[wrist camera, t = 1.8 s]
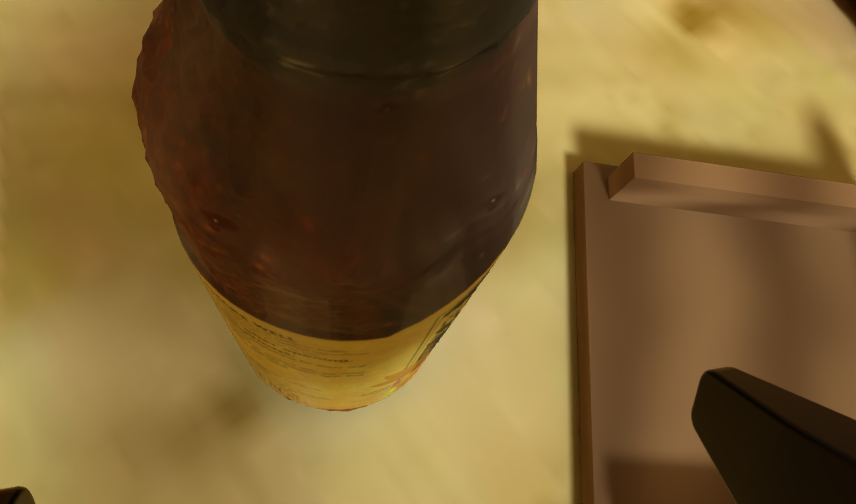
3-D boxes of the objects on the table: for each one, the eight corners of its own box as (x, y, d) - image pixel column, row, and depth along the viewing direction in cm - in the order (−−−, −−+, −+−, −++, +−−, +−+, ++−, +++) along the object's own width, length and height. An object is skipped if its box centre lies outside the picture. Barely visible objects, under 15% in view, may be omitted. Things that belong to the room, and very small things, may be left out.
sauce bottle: (431, 411, 20) (1602, -205, 2) (238, 419, 19) (-2291, -1011, 1) (421, 230, 22) (890, -905, 4) (248, 228, 21) (-249, -1345, 3)
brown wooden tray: (582, 556, 20) (689, 596, 14) (573, 173, 24) (650, 88, 19) (949, 570, 22) (1169, 611, 16) (875, 214, 26) (1026, 149, 21)
